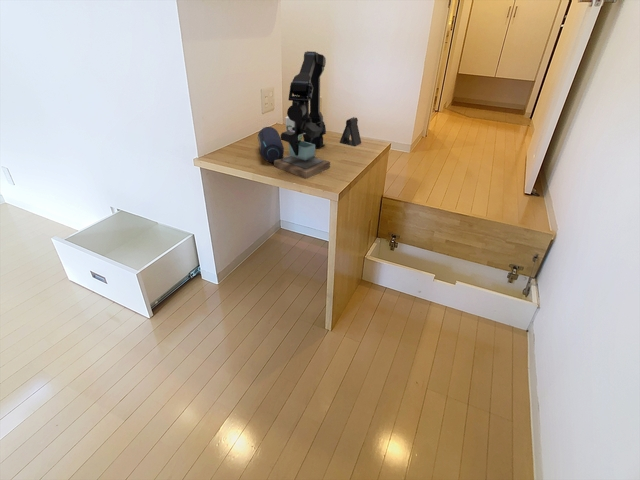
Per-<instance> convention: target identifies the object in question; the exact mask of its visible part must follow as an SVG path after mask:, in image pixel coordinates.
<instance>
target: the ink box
mask: <svg viewBox="0 0 640 480" xmlns="http://www.w3.org/2000/svg"><path fill="white" fill-rule="evenodd" d="M293 127H295V126H294V121H292V120H290V119H289V117H288V115H287V116H285V132H286V131H291V132H295V131H294V130H292V128H293ZM302 139H303V135H301V136H299V140H302Z"/></svg>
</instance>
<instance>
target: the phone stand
mask: <svg viewBox="0 0 640 480" xmlns="http://www.w3.org/2000/svg"><path fill="white" fill-rule="evenodd" d="M358 122H359V119H358V117H356V116H353V117H351V118H348V119H347V120H346V121H345V127H344V130H343V133H342V135H341V138H340V140H339V143H340V144H343V145H347V146H351V147H357V146H359V145H361V144H362V139H361V135H360V130H359V126H358Z"/></svg>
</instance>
